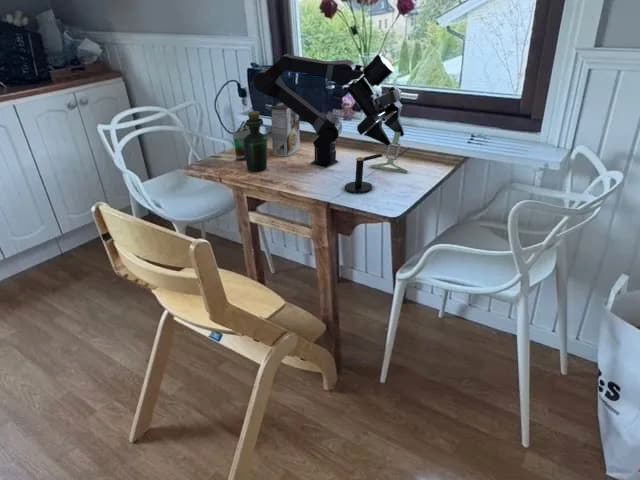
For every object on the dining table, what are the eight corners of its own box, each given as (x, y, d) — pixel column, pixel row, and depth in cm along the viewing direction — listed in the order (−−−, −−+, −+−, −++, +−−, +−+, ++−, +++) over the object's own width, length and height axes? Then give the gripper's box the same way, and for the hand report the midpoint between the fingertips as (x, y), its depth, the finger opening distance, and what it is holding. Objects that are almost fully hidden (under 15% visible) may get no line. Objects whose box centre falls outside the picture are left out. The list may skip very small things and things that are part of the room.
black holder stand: (339, 187, 155) (340, 157, 150) (372, 178, 158) (374, 149, 153) (354, 195, 149) (356, 165, 144) (388, 187, 152) (391, 156, 147)
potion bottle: (273, 168, 173) (271, 112, 162) (253, 175, 170) (249, 117, 159) (260, 163, 179) (257, 107, 168) (240, 169, 176) (236, 113, 165)
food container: (251, 162, 180) (249, 132, 174) (235, 162, 182) (232, 132, 176) (261, 150, 189) (260, 122, 182) (245, 150, 191) (243, 122, 184)
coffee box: (284, 147, 190) (283, 100, 180) (300, 149, 186) (300, 101, 176) (271, 155, 184) (270, 106, 174) (287, 157, 181) (286, 108, 171)
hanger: (406, 172, 159) (416, 134, 155) (370, 166, 166) (378, 129, 162) (407, 172, 160) (417, 134, 155) (371, 166, 166) (380, 130, 162)
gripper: (369, 85, 144) (402, 131, 144) (399, 71, 154) (430, 113, 155) (343, 113, 153) (374, 155, 153) (373, 97, 163) (402, 137, 164)
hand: (396, 139), depth 156 cm, fingers open, 9 cm apart
